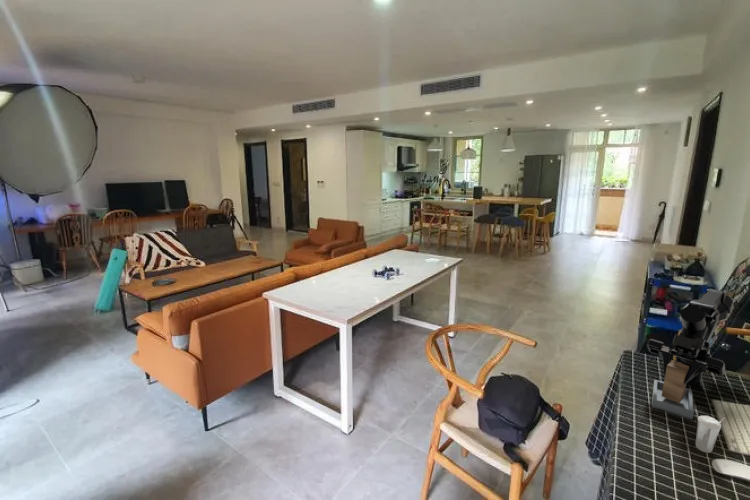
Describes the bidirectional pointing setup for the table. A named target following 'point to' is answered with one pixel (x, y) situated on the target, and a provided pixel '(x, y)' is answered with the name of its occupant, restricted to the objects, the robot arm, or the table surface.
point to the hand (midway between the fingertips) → (674, 379)
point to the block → (675, 381)
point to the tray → (672, 402)
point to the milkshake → (707, 433)
